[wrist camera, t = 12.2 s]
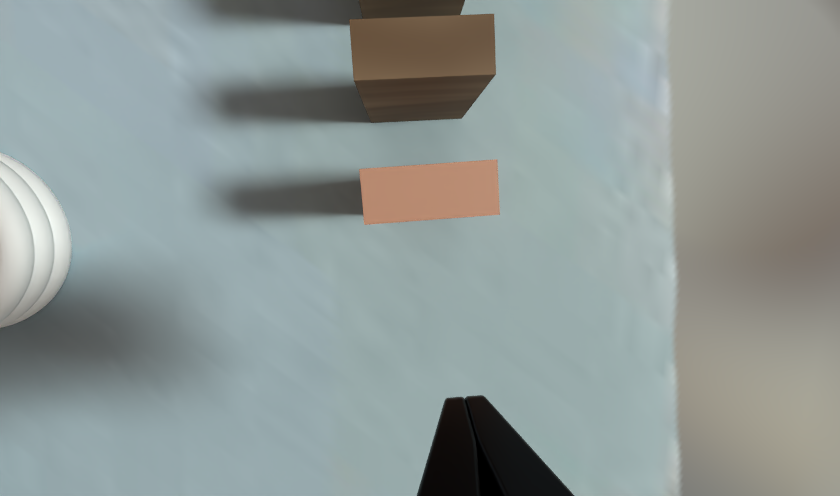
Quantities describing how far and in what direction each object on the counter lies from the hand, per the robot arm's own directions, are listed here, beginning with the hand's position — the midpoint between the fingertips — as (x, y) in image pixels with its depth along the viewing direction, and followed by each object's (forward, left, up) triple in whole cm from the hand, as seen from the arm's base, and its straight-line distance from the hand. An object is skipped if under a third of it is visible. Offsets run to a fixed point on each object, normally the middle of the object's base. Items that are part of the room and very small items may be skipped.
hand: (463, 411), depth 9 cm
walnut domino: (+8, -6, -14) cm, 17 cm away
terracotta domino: (+4, -3, -14) cm, 15 cm away
